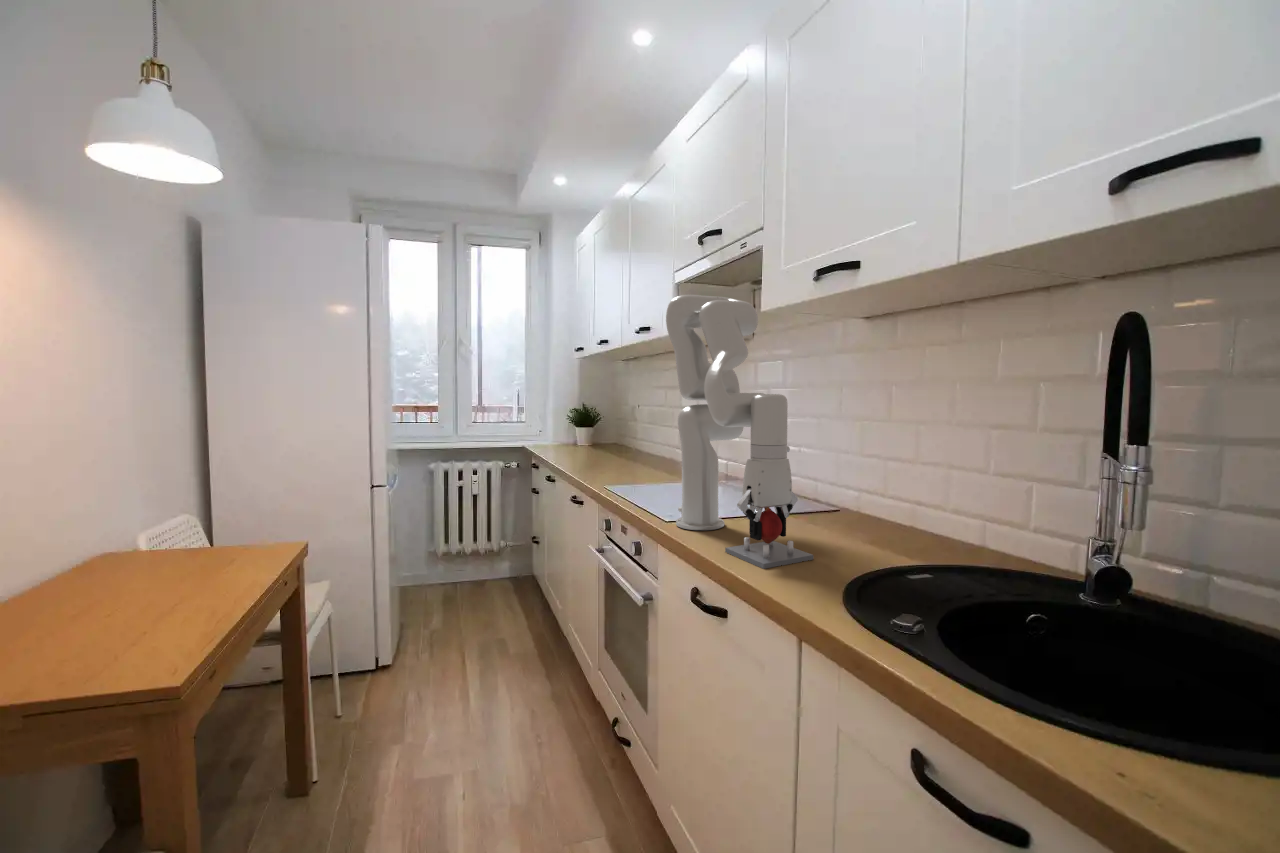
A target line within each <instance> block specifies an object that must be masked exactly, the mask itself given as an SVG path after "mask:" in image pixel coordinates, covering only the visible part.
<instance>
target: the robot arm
mask: <svg viewBox="0 0 1280 853" xmlns="http://www.w3.org/2000/svg"><path fill="white" fill-rule="evenodd" d="M666 308H667V309H666V314H665V318H666V319H665V325H666V329H667V333H668V337H669V340H670V342H671V345H672V347H673V351H674V357H675V358H674V359H675V365H676V374H677V381H678V389H679V392H680V395H681V397H682V398H684V399H685V400H688V401H706V403H704V404H692V405H687V406H686V407H684V408H682V409H681V411H680V412H679V414H678V416H677V427H678V434H679V439H680V450H681V506H679V507H678V508H677V509H678V510H677V511H678V512H680V513H681V517H678V518H677V519H676V521H675V525H676V526H677V528H678V527H679V528H681V529H684V530H691V531H713V530H714V531H715V530H718V529H719V530H720V529H721V528H723V527H724V526H725V520H723V519H722V518H719V456H718V454H717V451H716V450H715V448H714V446H713V445H712V443H711V442H714V441H716V442H717V441H730V440H735V439H738V438H739V437H740V436H742V433H743V430H744V427H746V428H747V427H748V428H749V427H750V458H748V459H747V460H746V463H745V467H744V474H743V482H742V496H741V498H740V499H739V501H738V503H737V504H736V506H737V508H738V509H740V511H741V512H742V514H744V515H745V516H746V518H747V519H748V520H749V538H750V539H753V540H756V541H762V522H761V521H759V519H760V516H761V513H762V512H763V509H764V508H766V507H769V508H774V512H775V513H776V514H777V515H778V517H779V518H780V520H781V522H782V532H781V534H780V535H779V537H784V538H785V537H786V536H787V519H788V518H789V517H790V512H791V511H792V510H793V508H794V506H795V505H796V503H797V502H798V500H799V499H798V497H797V496H796V495H797V494H795V493H794V491H793V483H792V482H793V481H792V472H791V471H792V470H791V464H790V460H789V458H788V453H789V452H790V450H791V448H790V446H788V411H789V410H788V406H789V405H788V404H789V403H788V399H787V397H786V396H785V395H784V394H781V393H778V394H777V393H775V394H774V393H763V392H762V393H761V392H741V390H740V383H739V377H738V376H737V374H736V372H735V371H734V369H735V368H737V367H738V366H740V365H741V364H742V363H744V361H746V360H747V358H748V356H749V350H748V346H747V344H746V342H745V341H746V340H745V339H744V337H748V336H751V335H752V334H754V333H755V332H756V330H757V327H758V323H759V317H758V313H757V310H756V309H755V307H754V306H753V304H752V303H751V302H749V301H744V300H741V299H736V298H730V297H727V296H717V295H714V296H713V295H700V294H681V295H678V296H676V297H673V298H672V299H671V300H670V302H669V303H668V305H667V307H666ZM695 329H702V332H703V335H704V336H703V337H704V339H705V341H706V344H705V343H704V340H703V339H702V338H701V337H700V336H699V334H697V332H696V331H695ZM706 345H707V346H706ZM707 348H708V349H707ZM708 351H709V355H710V357H711V360H712V363H710V361H709V358H708Z"/></svg>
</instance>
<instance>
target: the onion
mask: <svg viewBox="0 0 1280 853" xmlns="http://www.w3.org/2000/svg"><path fill="white" fill-rule="evenodd" d="M763 509H764V510H762V513H761V516H760V519H759V521H761V522H762V539H761V541H762V542H765V543H767V544H769V543H771V542H772V541H775V540H777V539H778V538H779V537H780V536H779V535H780V534H781V532H782V522H781V520H780V518H779V517H778V515H777V514H776V511H773V510H772V509H771V507H766V508H763Z"/></svg>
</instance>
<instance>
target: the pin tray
mask: <svg viewBox="0 0 1280 853" xmlns="http://www.w3.org/2000/svg"><path fill="white" fill-rule="evenodd" d="M724 550H725V551H724V553H726V552H727V553H726V554H728V553H729V554H728V555H730V554H731V556H734V557H735V556H736V557H735V558H737V557H738V559H740V560H742V561H745V562H747V563H749V564H752V565H753V566H755V567H758V568H760V569H763V570H765V569H770V568H776V567H781V565H782V566H787V565H792V563H793V564H797V563H802V561H804V562H808V560H809V561H814V554H812V553H809V552H806V551H802V550H801V549H797V548H795V547H794V541H793V540H787V544H784V543H781V542H779V541H775V540H774V541H772V542H771V543H769V544H767V543H765V542H764V541H760V542H753V543H751V538H750V537H748V536H747V537H743V544H740V545H733V546H728V547H725V549H724Z"/></svg>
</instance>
